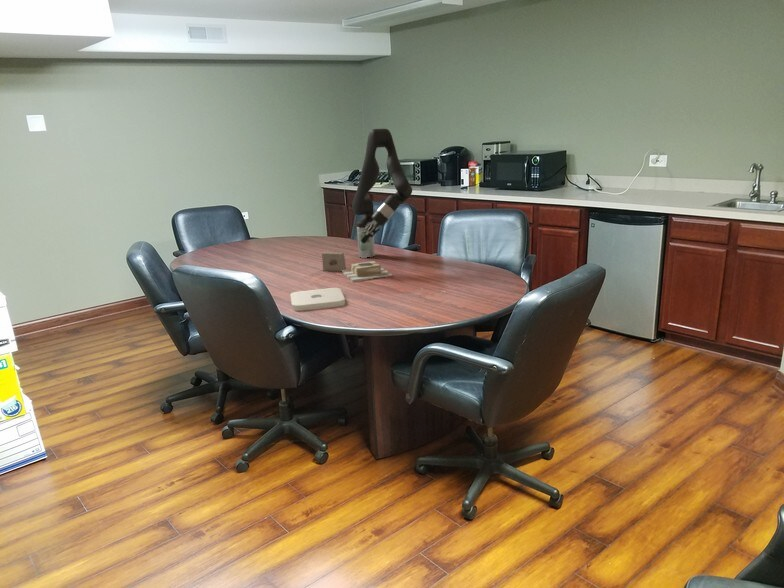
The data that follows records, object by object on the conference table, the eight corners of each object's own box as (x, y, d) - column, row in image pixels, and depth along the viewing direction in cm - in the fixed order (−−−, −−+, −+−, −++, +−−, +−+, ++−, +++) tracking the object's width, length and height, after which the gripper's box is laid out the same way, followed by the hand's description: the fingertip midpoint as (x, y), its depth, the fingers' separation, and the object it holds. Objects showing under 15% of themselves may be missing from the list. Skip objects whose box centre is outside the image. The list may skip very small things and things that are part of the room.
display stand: (341, 272, 297) (340, 262, 296) (378, 267, 303) (378, 257, 301) (352, 282, 277) (351, 271, 275) (392, 276, 283) (391, 266, 281)
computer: (290, 298, 258) (290, 292, 257) (339, 292, 262) (339, 287, 261) (292, 312, 237) (292, 306, 236) (346, 306, 241) (345, 300, 240)
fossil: (322, 271, 302) (321, 253, 299) (325, 269, 305) (324, 251, 303) (343, 271, 298) (342, 253, 295) (346, 270, 301) (345, 252, 298)
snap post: (359, 248, 288) (357, 231, 285) (367, 247, 289) (366, 230, 286) (361, 250, 284) (360, 232, 281) (370, 249, 285) (368, 231, 282)
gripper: (373, 208, 290) (351, 234, 290) (381, 211, 277) (359, 239, 277) (384, 217, 293) (362, 243, 293) (393, 221, 280) (370, 248, 280)
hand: (361, 241), depth 285 cm, fingers closed on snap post, 4 cm apart
